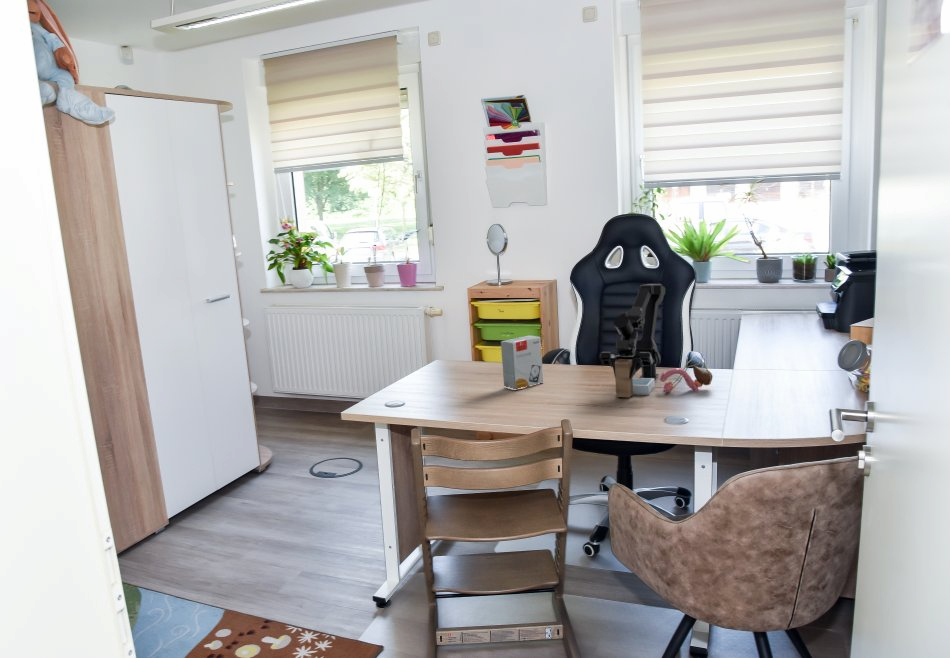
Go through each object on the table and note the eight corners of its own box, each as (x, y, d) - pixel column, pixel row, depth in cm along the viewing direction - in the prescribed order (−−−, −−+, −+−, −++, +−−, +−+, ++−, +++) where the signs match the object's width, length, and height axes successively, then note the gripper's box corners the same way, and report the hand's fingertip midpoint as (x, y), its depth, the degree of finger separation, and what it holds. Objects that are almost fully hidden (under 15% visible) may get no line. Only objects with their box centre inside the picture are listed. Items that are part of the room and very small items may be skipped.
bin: (627, 386, 269) (626, 377, 268) (654, 387, 264) (654, 378, 264) (620, 393, 260) (619, 384, 259) (648, 394, 255) (648, 385, 254)
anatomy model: (653, 378, 263) (682, 345, 259) (685, 403, 263) (715, 370, 258) (655, 386, 252) (685, 351, 248) (688, 412, 252) (719, 377, 247)
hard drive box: (515, 391, 277) (511, 343, 273) (503, 388, 283) (499, 341, 280) (544, 383, 286) (540, 336, 282) (532, 380, 292) (528, 334, 288)
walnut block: (619, 392, 258) (618, 359, 256) (632, 393, 256) (631, 359, 253) (616, 396, 254) (614, 362, 251) (629, 397, 252) (628, 362, 249)
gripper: (599, 330, 258) (592, 366, 250) (649, 330, 250) (644, 367, 242) (606, 346, 267) (600, 382, 259) (655, 347, 258) (650, 383, 250)
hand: (623, 378), depth 252 cm, fingers closed on walnut block, 5 cm apart
